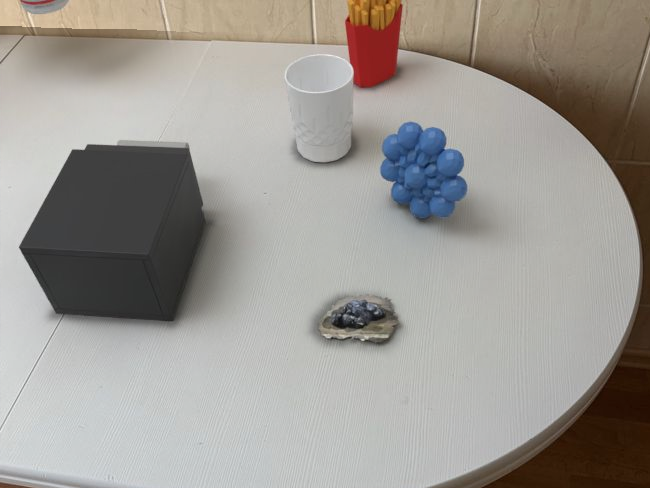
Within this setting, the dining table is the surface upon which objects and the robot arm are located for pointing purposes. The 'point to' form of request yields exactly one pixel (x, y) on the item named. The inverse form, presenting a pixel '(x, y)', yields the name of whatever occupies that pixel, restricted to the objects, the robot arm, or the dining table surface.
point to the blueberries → (359, 319)
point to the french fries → (373, 39)
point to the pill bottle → (43, 6)
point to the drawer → (150, 150)
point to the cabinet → (117, 234)
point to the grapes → (423, 170)
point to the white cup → (321, 105)
